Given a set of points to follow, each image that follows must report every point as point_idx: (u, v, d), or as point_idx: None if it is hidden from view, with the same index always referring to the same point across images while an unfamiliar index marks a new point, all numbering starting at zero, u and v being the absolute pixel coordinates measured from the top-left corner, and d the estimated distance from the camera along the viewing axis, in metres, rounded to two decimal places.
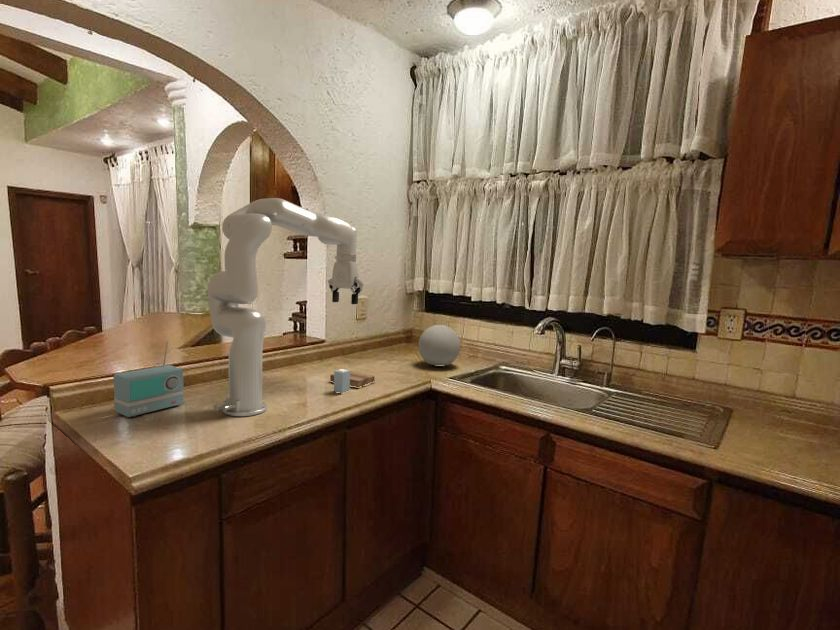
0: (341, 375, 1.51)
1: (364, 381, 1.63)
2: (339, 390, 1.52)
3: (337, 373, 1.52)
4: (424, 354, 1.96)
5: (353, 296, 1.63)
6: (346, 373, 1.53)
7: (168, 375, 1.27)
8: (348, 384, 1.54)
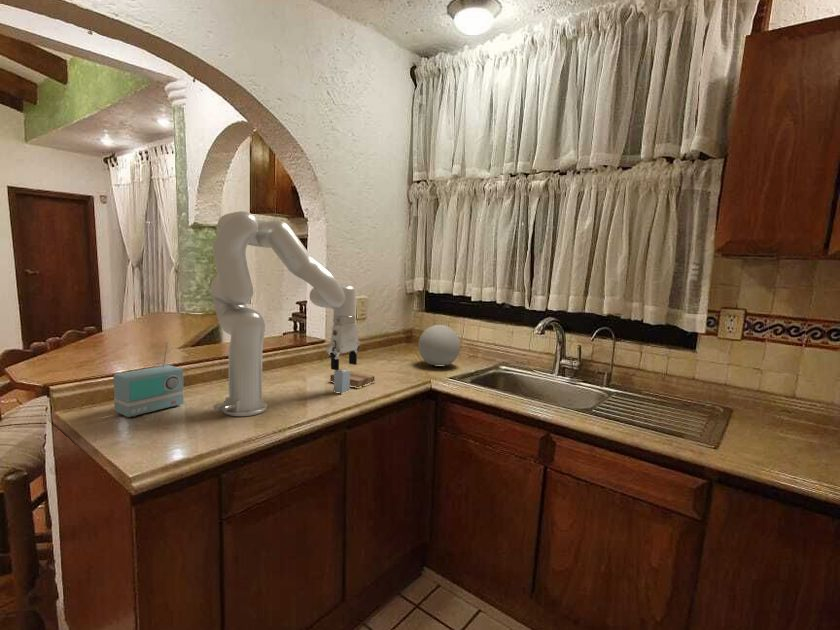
0: (341, 375, 1.51)
1: (364, 381, 1.63)
2: (339, 390, 1.52)
3: (337, 373, 1.52)
4: (424, 354, 1.96)
5: None
6: (346, 373, 1.53)
7: (168, 375, 1.27)
8: (348, 384, 1.54)
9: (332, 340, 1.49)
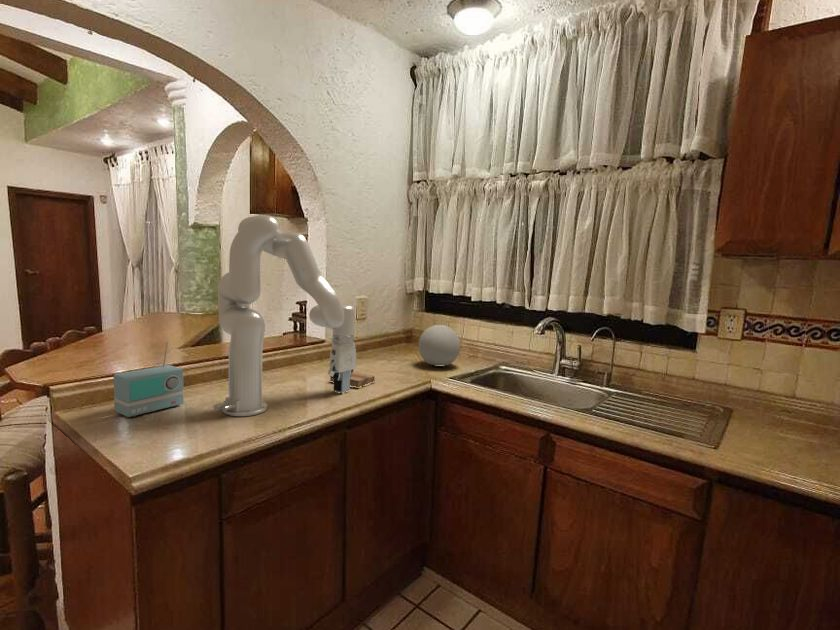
0: (341, 375, 1.51)
1: (364, 381, 1.63)
2: None
3: (337, 373, 1.52)
4: (424, 354, 1.96)
5: None
6: (346, 373, 1.53)
7: (168, 375, 1.27)
8: (348, 384, 1.54)
9: (331, 359, 1.50)
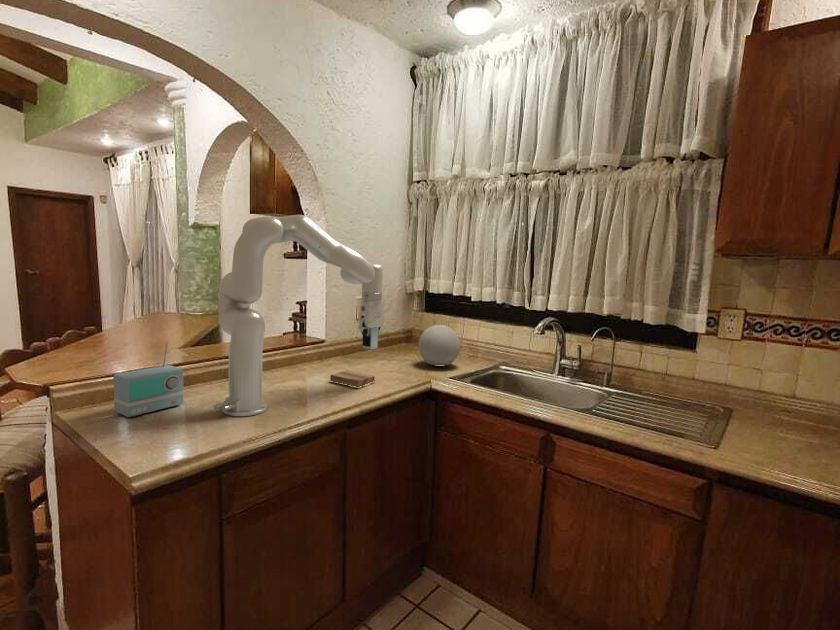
0: (370, 331, 1.59)
1: (364, 381, 1.63)
2: None
3: (366, 329, 1.59)
4: (424, 354, 1.96)
5: None
6: (374, 329, 1.60)
7: (168, 375, 1.27)
8: (376, 340, 1.61)
9: (360, 315, 1.57)
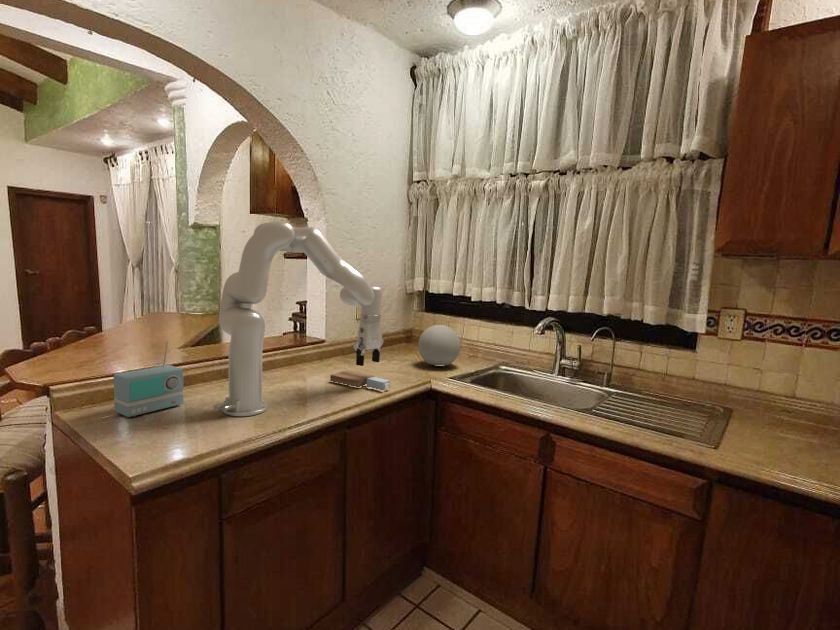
0: None
1: (364, 381, 1.63)
2: (369, 386, 1.60)
3: (381, 386, 1.57)
4: (424, 354, 1.96)
5: None
6: None
7: (168, 375, 1.27)
8: None
9: (359, 337, 1.57)
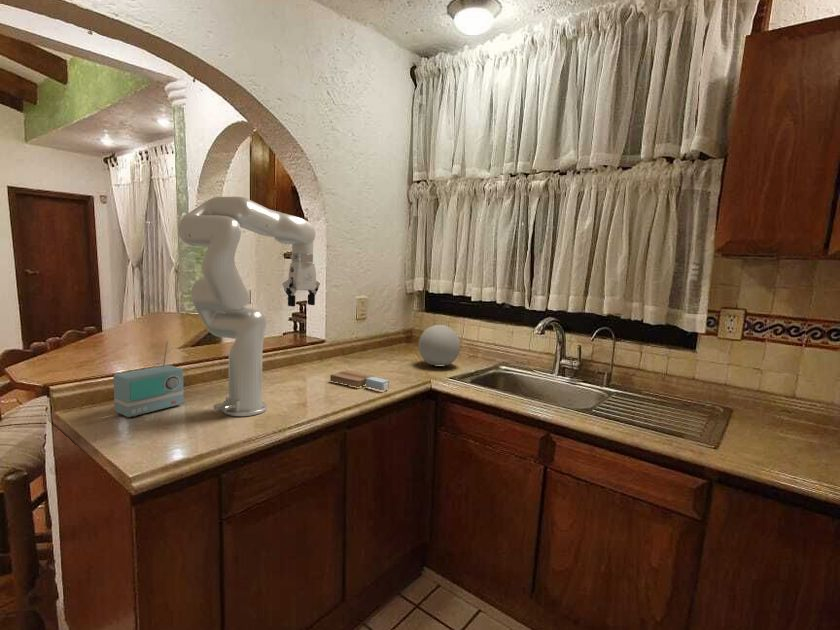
0: None
1: (364, 381, 1.63)
2: (368, 386, 1.60)
3: (380, 386, 1.57)
4: (424, 354, 1.96)
5: None
6: None
7: (168, 375, 1.27)
8: None
9: (289, 277, 1.53)
